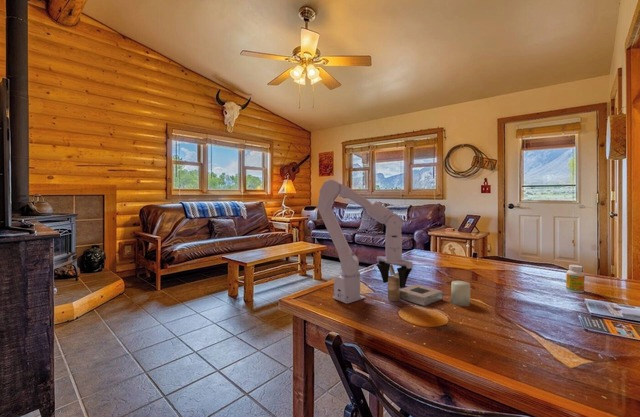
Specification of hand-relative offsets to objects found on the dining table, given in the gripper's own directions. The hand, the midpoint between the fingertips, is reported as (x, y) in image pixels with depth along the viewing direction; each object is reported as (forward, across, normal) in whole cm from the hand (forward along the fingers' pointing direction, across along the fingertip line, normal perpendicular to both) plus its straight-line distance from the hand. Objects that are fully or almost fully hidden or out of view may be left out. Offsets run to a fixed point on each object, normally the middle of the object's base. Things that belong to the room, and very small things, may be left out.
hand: (393, 284), depth 111 cm
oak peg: (+6, 0, 0) cm, 6 cm away
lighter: (+6, +11, -15) cm, 19 cm away
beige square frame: (+6, -5, -8) cm, 11 cm away
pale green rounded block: (+6, -17, -15) cm, 23 cm away
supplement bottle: (+6, -38, -61) cm, 72 cm away
